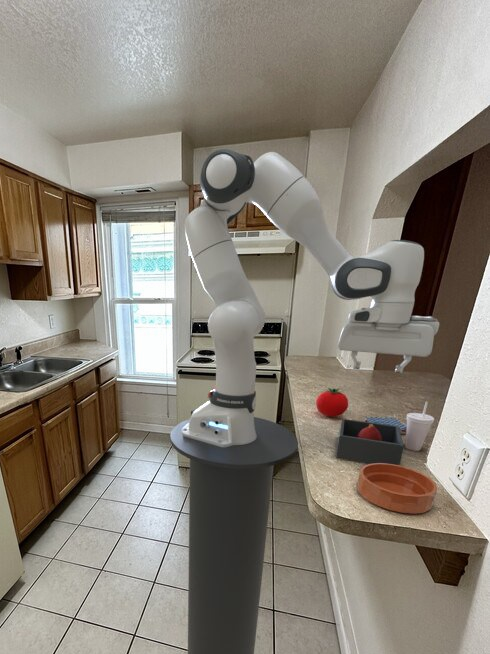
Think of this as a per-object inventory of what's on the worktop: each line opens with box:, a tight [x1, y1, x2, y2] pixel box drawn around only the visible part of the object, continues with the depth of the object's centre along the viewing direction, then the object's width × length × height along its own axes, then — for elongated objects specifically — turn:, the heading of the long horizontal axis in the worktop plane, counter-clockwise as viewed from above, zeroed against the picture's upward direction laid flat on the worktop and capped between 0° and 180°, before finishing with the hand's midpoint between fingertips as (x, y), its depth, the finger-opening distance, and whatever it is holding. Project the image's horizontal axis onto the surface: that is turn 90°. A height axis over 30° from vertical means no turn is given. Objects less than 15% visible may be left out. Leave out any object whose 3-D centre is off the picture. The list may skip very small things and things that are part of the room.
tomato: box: [315, 387, 349, 418], centre depth 125 cm, size 10×10×10 cm
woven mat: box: [363, 416, 407, 435], centre depth 115 cm, size 10×11×2 cm
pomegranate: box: [357, 424, 382, 441], centre depth 97 cm, size 6×6×8 cm
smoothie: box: [404, 401, 435, 452], centre depth 99 cm, size 6×6×14 cm
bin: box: [335, 418, 405, 466], centre depth 98 cm, size 15×15×7 cm
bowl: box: [356, 463, 438, 515], centre depth 78 cm, size 14×14×4 cm
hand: (376, 370), depth 90 cm, fingers open, 8 cm apart
